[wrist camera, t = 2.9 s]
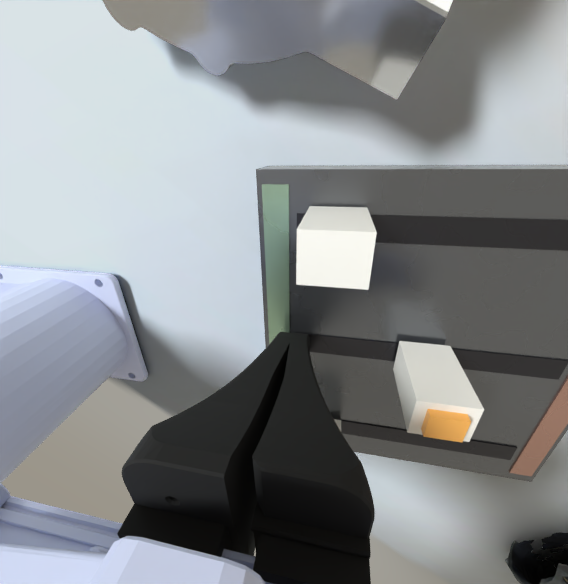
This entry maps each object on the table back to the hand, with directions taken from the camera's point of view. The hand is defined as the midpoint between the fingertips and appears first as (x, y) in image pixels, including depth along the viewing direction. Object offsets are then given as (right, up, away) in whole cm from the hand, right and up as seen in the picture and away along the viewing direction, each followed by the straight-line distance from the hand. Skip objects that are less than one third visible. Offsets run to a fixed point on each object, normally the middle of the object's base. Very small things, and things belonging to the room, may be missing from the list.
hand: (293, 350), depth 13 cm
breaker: (+1, +5, -2) cm, 6 cm away
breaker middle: (+5, 0, -1) cm, 6 cm away
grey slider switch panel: (+6, +1, +1) cm, 6 cm away
